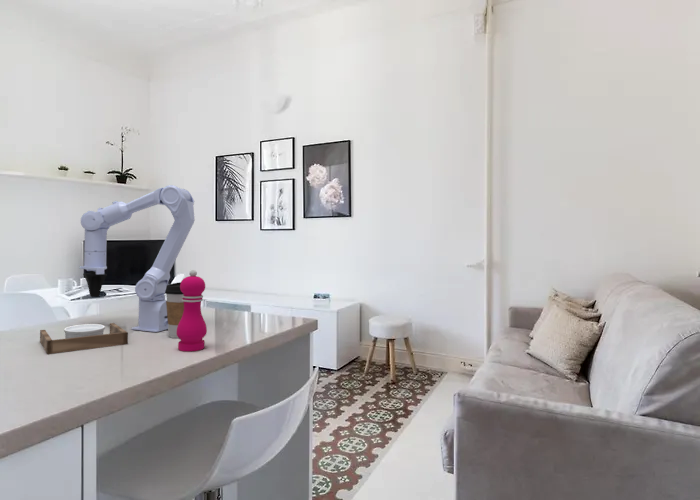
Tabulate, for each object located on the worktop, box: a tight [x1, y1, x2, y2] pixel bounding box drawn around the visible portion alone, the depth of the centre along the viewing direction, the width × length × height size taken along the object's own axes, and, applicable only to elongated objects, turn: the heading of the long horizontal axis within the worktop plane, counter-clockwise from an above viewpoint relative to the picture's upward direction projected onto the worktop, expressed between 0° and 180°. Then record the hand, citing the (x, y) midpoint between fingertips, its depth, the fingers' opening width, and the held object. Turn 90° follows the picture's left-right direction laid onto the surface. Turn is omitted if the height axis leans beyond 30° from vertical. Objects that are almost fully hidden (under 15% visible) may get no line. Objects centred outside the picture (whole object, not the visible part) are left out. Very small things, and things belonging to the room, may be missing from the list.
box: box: [39, 322, 129, 355], centre depth 108 cm, size 15×17×3 cm
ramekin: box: [63, 323, 106, 339], centre depth 108 cm, size 9×9×4 cm
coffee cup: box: [165, 281, 184, 339], centre depth 119 cm, size 8×8×15 cm
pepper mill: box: [176, 269, 208, 352], centre depth 106 cm, size 7×7×20 cm
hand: (94, 296), depth 127 cm, fingers closed
